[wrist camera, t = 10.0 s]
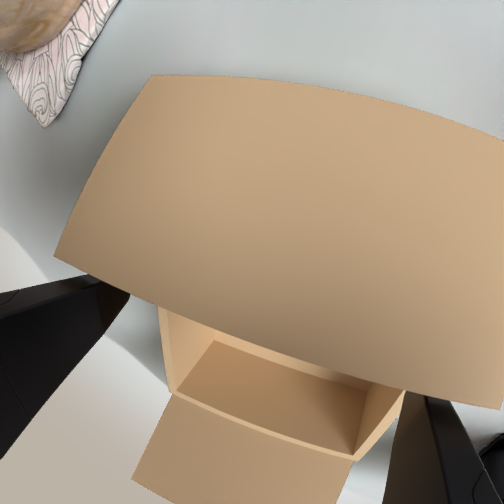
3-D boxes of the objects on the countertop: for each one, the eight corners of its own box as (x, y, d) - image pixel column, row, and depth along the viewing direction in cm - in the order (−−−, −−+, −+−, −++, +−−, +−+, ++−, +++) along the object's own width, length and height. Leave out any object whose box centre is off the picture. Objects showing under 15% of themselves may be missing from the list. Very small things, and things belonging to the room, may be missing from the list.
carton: (373, 392, 21) (358, 461, 16) (210, 337, 24) (168, 391, 20) (477, 138, 12) (525, 162, 7) (224, 82, 15) (151, 83, 10)
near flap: (157, 84, 10) (151, 75, 10) (517, 159, 7) (524, 150, 6) (63, 260, 9) (53, 256, 8) (490, 407, 5) (499, 410, 5)
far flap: (353, 460, 16) (352, 460, 16) (172, 393, 19) (175, 394, 20) (310, 553, 13) (309, 551, 13) (130, 478, 16) (134, 478, 16)
